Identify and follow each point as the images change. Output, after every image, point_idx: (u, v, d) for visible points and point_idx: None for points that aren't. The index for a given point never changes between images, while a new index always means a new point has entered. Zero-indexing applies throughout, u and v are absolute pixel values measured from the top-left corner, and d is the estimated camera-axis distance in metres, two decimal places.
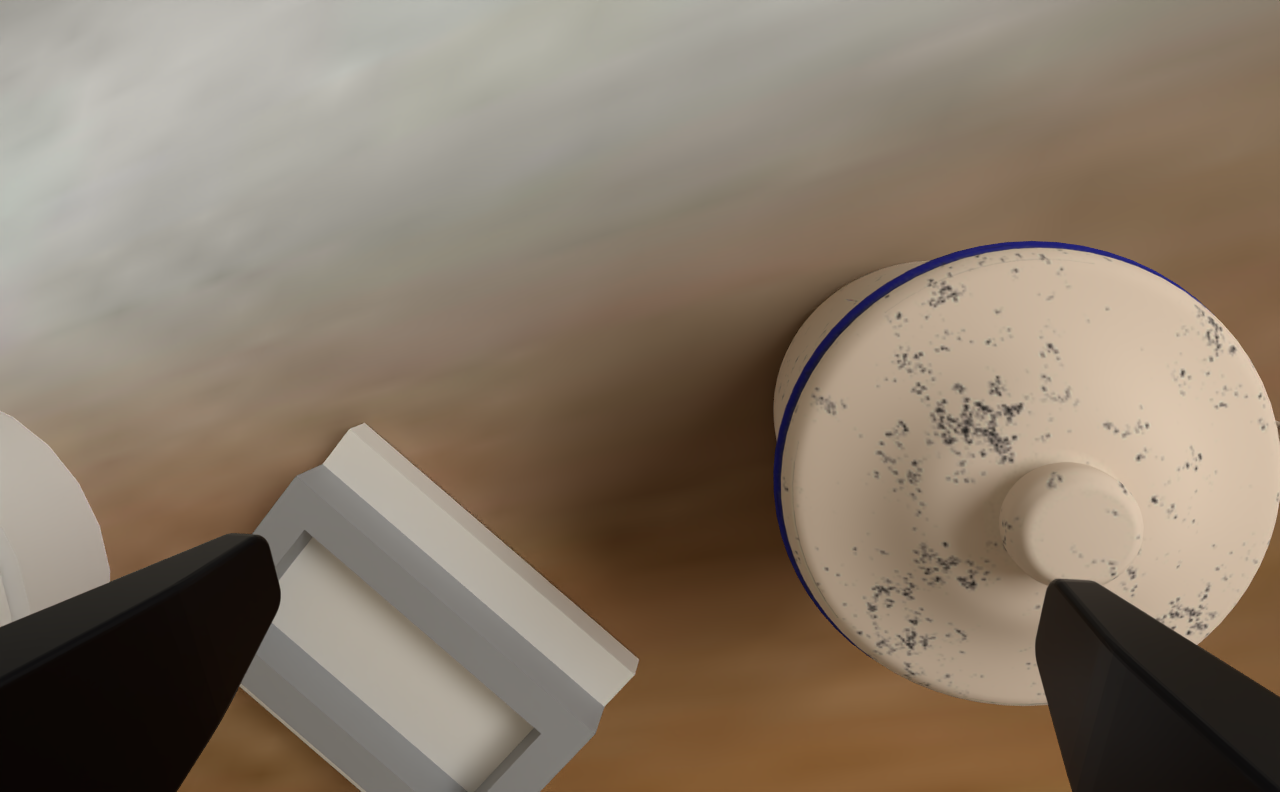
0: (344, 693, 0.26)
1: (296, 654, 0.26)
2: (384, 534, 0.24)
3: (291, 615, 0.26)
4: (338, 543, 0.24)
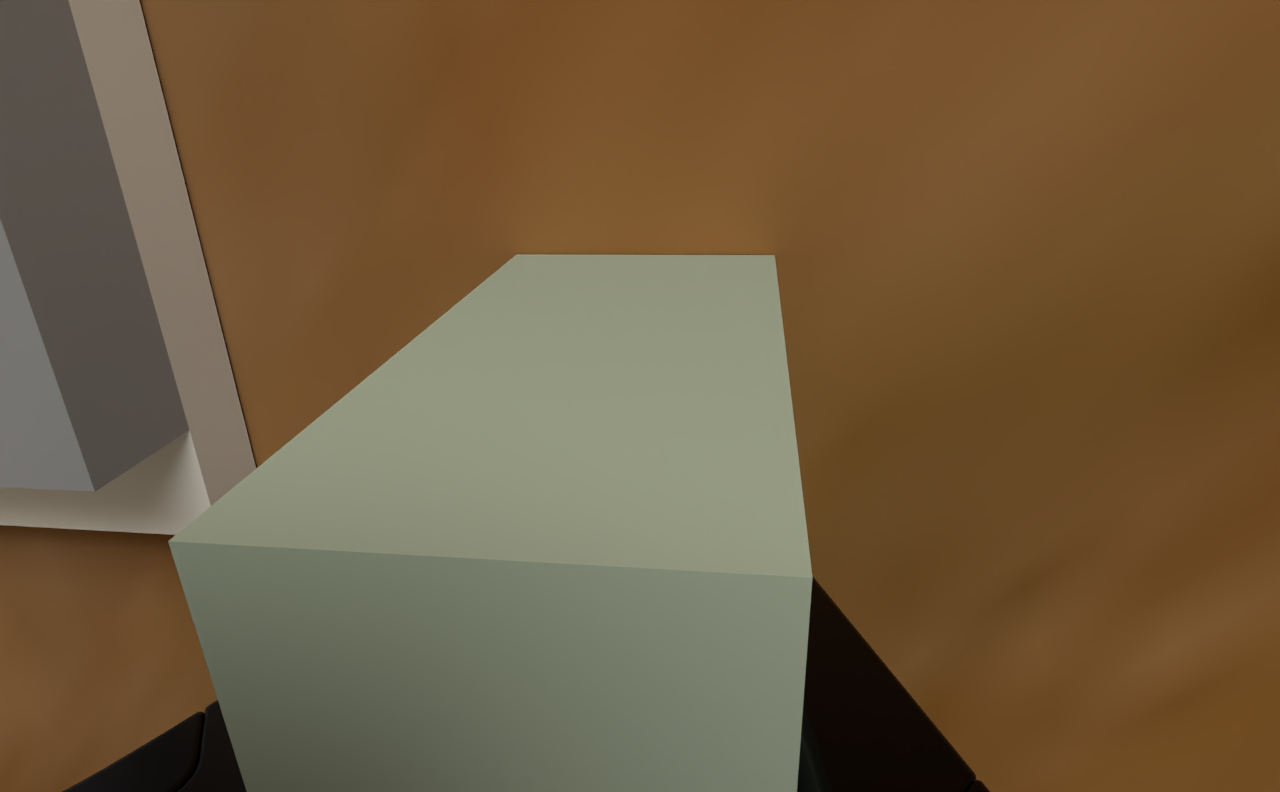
0: None
1: None
2: None
3: None
4: None
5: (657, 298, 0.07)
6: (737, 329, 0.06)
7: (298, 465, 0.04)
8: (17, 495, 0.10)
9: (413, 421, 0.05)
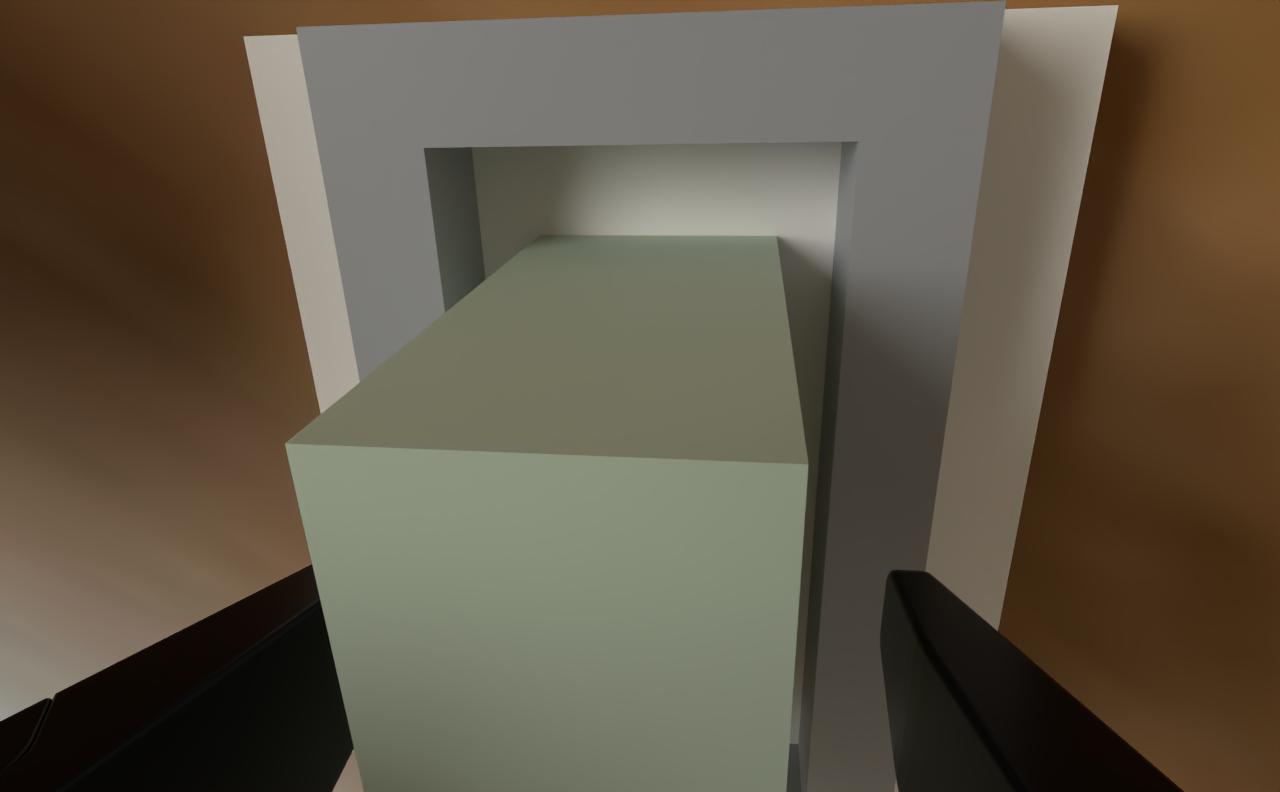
0: (814, 541, 0.11)
1: (806, 660, 0.12)
2: None
3: None
4: None
5: (671, 270, 0.08)
6: (744, 292, 0.07)
7: (379, 391, 0.05)
8: (1025, 265, 0.09)
9: (469, 362, 0.06)
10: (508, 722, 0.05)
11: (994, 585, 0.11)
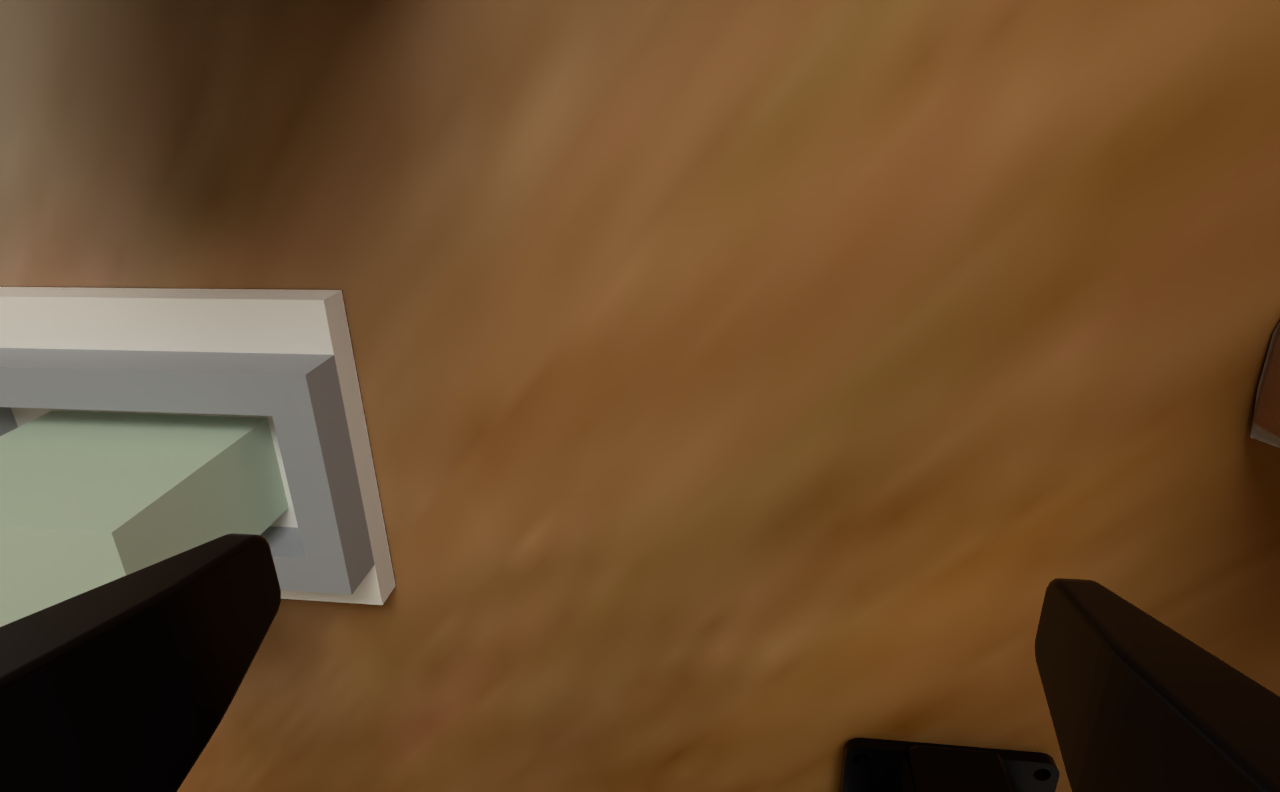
0: None
1: None
2: (23, 357, 0.22)
3: None
4: None
5: (245, 506, 0.22)
6: None
7: (140, 522, 0.18)
8: None
9: (163, 522, 0.19)
10: (45, 571, 0.18)
11: None
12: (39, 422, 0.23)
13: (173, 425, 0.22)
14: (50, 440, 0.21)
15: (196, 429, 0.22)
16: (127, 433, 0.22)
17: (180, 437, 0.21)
